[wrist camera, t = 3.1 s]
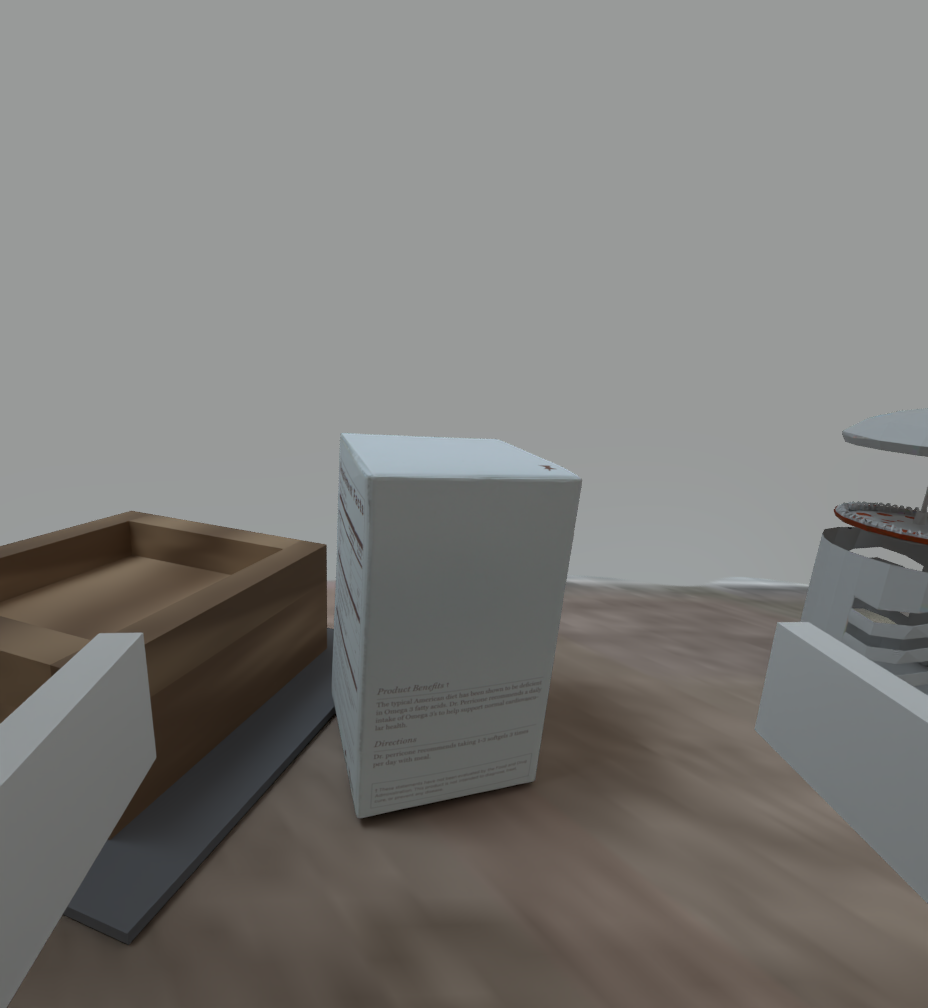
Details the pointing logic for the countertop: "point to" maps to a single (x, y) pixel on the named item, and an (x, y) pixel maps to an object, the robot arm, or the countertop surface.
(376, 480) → the supplement box
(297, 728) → the mat
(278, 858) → the countertop surface
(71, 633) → the tray
